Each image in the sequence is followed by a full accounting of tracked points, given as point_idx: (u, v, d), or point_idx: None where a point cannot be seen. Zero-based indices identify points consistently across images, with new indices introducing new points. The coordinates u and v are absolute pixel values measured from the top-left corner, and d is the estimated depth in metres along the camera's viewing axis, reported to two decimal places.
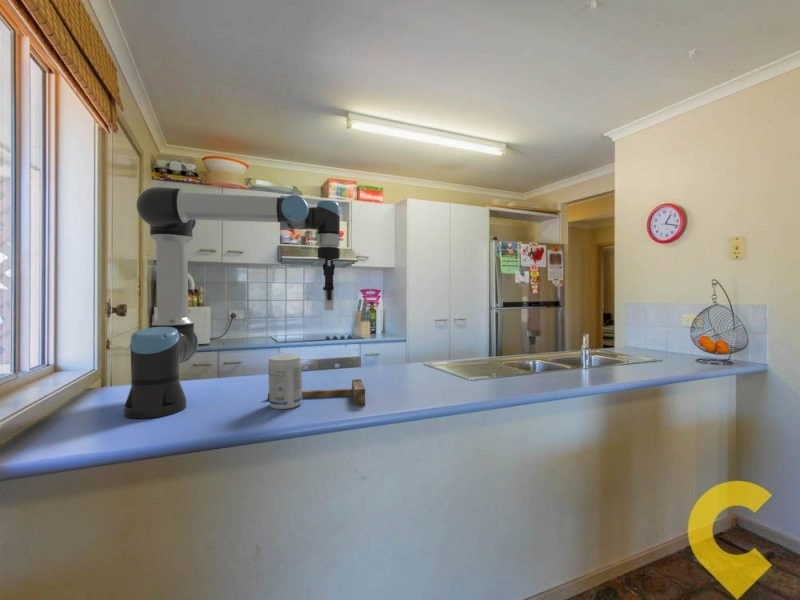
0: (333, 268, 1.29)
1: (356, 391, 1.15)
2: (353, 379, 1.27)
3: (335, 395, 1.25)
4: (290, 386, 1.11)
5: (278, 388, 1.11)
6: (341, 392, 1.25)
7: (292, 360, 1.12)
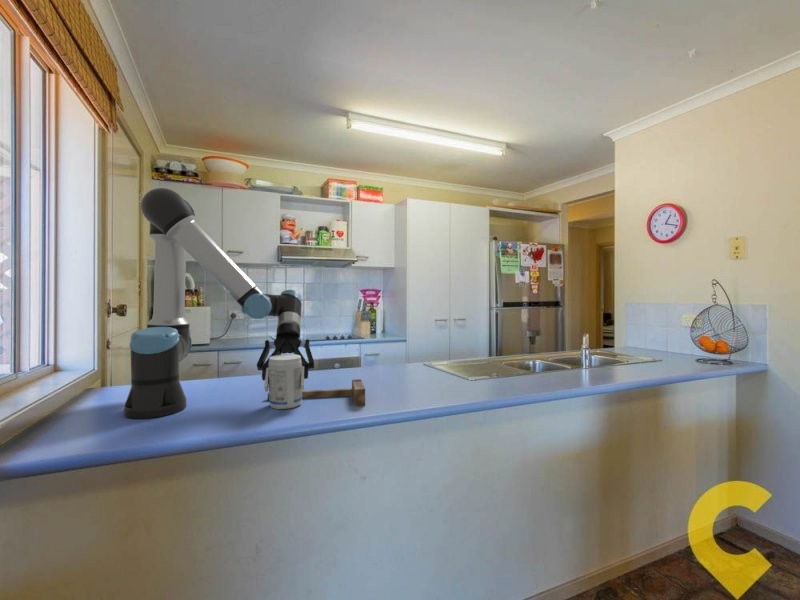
0: None
1: (356, 391, 1.15)
2: (353, 379, 1.27)
3: (335, 395, 1.25)
4: (290, 386, 1.11)
5: (278, 388, 1.11)
6: (341, 392, 1.25)
7: (292, 360, 1.12)
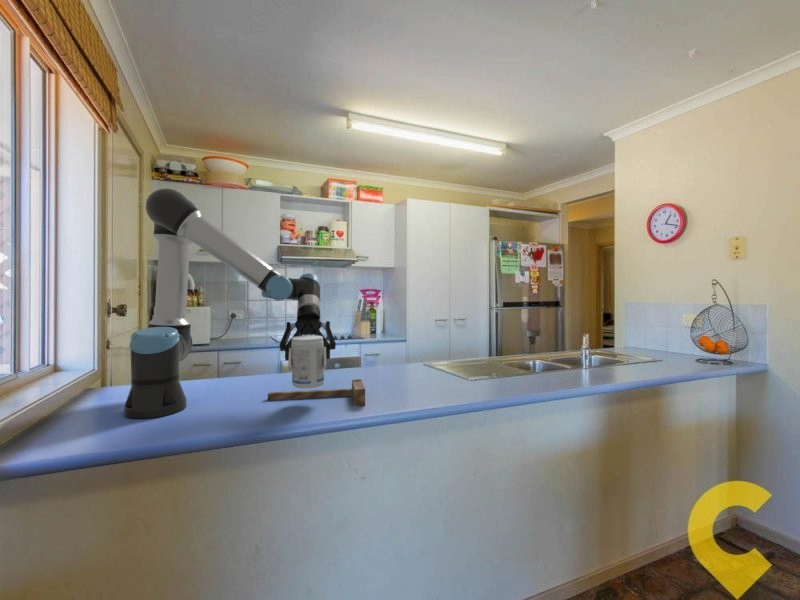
0: None
1: (356, 391, 1.15)
2: (353, 379, 1.27)
3: (335, 395, 1.25)
4: (313, 365, 1.13)
5: (302, 368, 1.12)
6: (341, 392, 1.25)
7: (315, 340, 1.13)
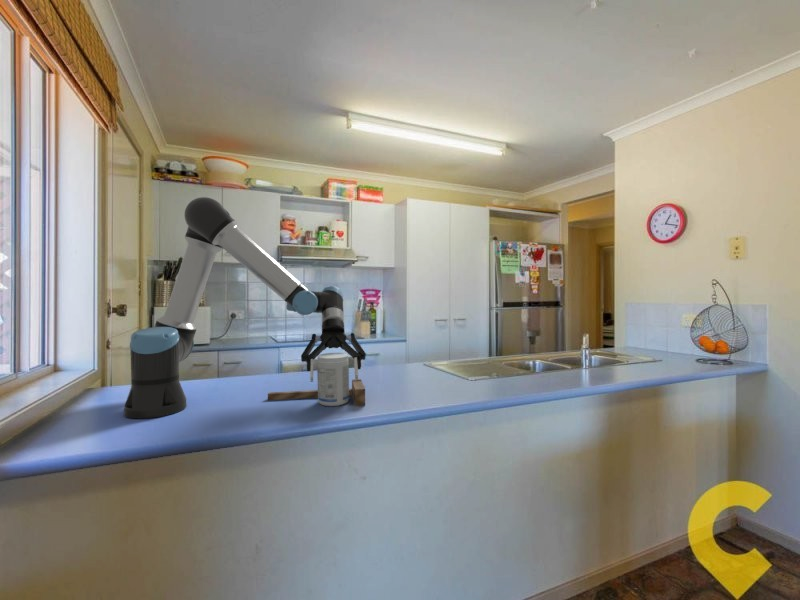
0: None
1: (356, 391, 1.15)
2: (353, 379, 1.27)
3: None
4: (339, 383, 1.14)
5: (328, 386, 1.14)
6: None
7: (341, 358, 1.15)
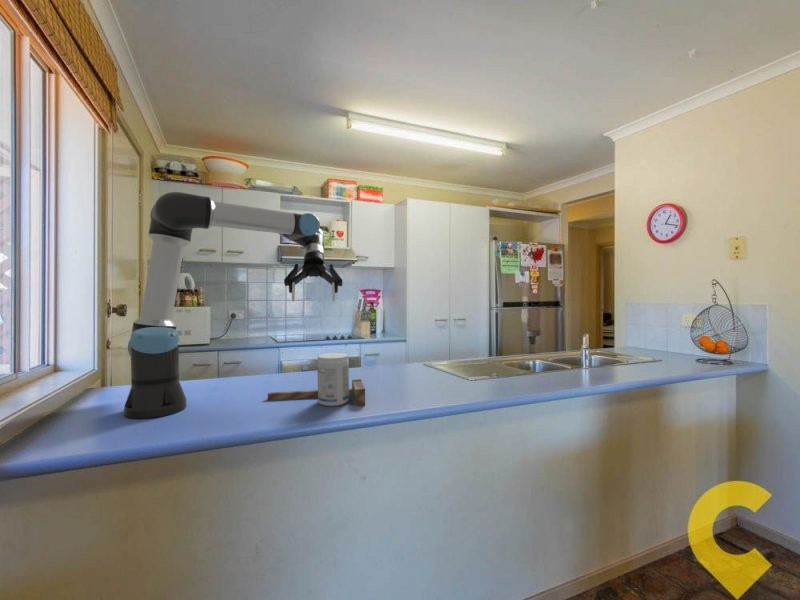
0: (321, 274, 1.43)
1: (356, 391, 1.15)
2: (353, 379, 1.27)
3: None
4: (339, 383, 1.14)
5: (328, 386, 1.14)
6: None
7: (341, 358, 1.15)
